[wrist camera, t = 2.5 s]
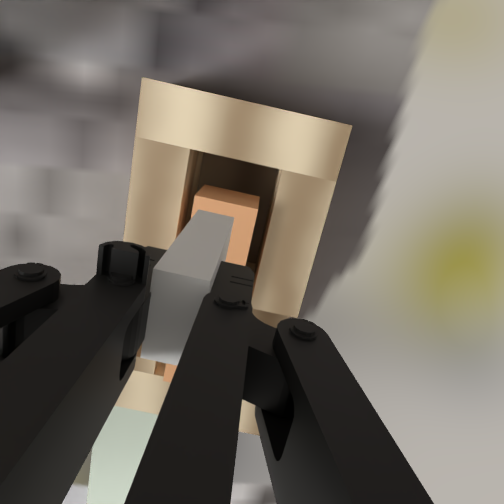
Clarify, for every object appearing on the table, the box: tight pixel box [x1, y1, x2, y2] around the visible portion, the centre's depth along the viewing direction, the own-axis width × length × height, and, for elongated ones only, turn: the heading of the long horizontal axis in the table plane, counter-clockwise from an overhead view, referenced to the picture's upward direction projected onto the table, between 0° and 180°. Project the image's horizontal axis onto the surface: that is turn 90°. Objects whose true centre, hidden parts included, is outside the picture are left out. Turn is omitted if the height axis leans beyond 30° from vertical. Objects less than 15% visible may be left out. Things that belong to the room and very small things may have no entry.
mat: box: [86, 406, 158, 504], centre depth 42 cm, size 12×14×1 cm
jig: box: [115, 77, 352, 436], centre depth 32 cm, size 13×24×6 cm, turn 168°
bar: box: [163, 185, 260, 383], centre depth 29 cm, size 4×14×4 cm, turn 168°
